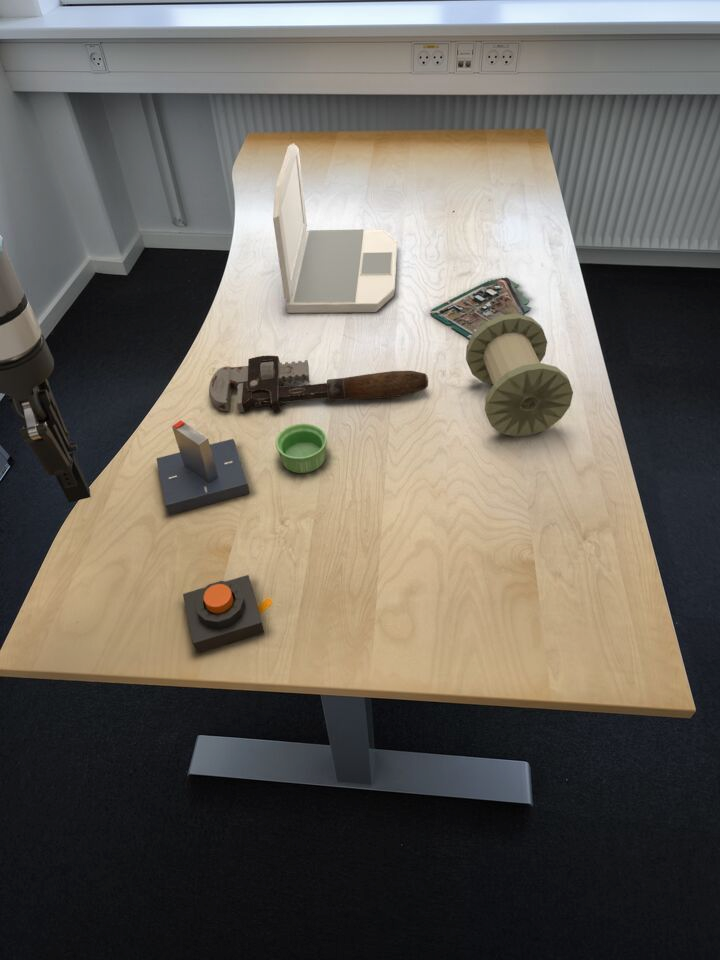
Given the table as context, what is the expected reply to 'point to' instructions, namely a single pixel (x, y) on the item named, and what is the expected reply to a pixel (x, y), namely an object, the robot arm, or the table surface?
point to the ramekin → (302, 447)
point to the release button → (218, 598)
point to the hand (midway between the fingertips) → (79, 495)
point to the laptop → (328, 255)
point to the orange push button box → (223, 616)
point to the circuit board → (481, 305)
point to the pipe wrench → (268, 374)
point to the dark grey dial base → (202, 479)
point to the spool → (518, 375)
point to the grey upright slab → (195, 451)
